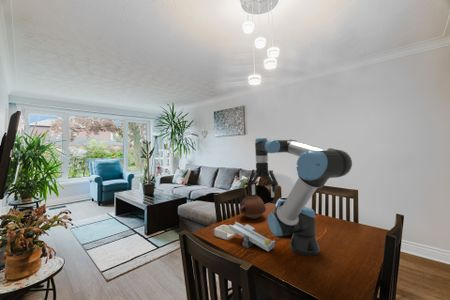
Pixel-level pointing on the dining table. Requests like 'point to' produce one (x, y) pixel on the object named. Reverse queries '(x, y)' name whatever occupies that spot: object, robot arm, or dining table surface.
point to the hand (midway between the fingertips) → (262, 195)
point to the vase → (252, 204)
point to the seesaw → (251, 235)
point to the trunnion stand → (247, 242)
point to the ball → (267, 241)
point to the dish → (224, 232)
